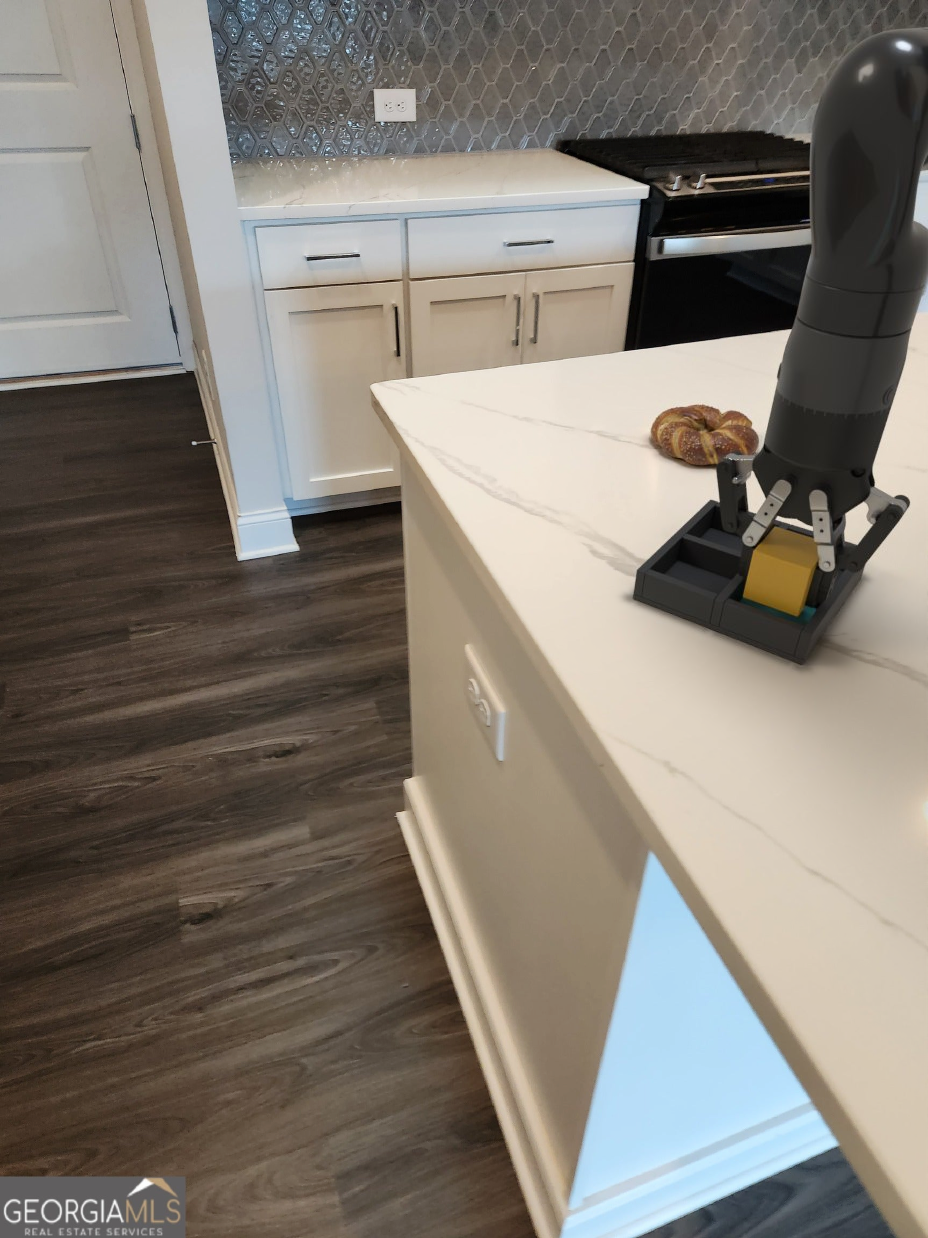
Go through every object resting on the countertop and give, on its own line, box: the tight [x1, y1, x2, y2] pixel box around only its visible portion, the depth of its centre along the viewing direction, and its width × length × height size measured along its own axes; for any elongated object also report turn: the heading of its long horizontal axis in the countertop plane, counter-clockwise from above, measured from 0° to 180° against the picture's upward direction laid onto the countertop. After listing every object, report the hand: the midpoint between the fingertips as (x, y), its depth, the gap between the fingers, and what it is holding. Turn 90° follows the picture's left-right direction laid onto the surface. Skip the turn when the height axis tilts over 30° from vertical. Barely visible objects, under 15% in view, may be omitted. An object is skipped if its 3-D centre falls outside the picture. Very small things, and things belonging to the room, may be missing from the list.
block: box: [743, 527, 818, 617], centre depth 65 cm, size 4×4×4 cm
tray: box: [632, 499, 867, 666], centre depth 71 cm, size 15×15×3 cm
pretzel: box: [650, 404, 760, 466], centre depth 93 cm, size 12×11×4 cm
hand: (780, 590), depth 67 cm, fingers closed on block, 4 cm apart
